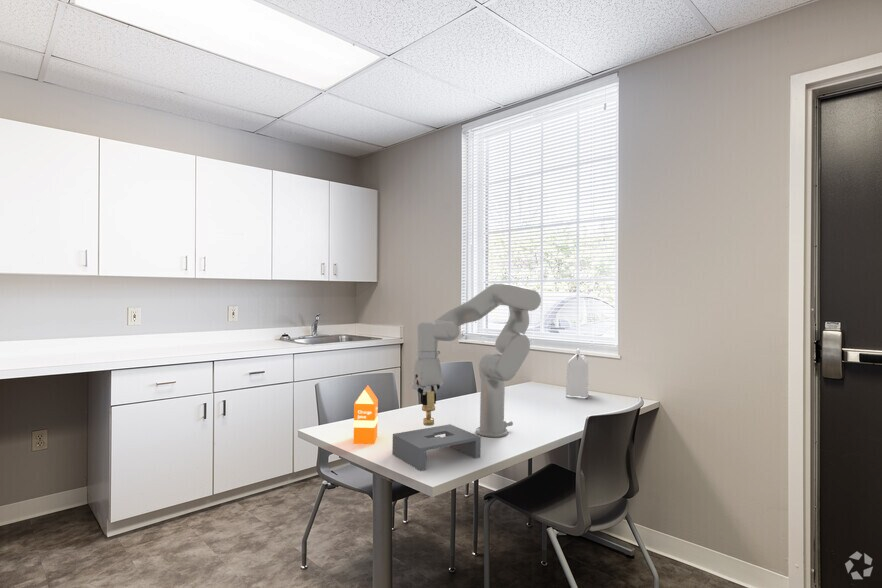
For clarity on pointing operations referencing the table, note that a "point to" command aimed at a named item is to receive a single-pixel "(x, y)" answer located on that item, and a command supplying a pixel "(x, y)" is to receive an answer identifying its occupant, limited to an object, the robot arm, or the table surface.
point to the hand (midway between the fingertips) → (428, 403)
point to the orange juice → (365, 418)
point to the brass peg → (429, 408)
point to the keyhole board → (433, 443)
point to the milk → (577, 376)
